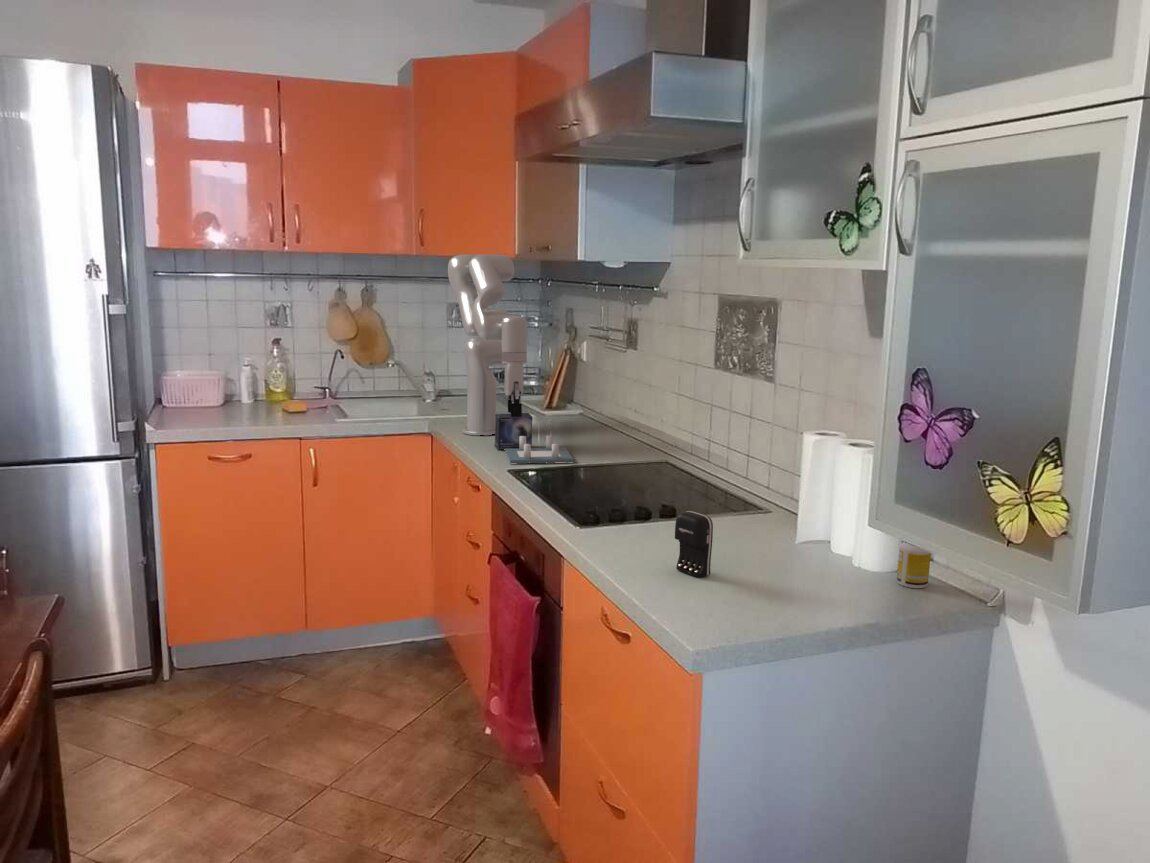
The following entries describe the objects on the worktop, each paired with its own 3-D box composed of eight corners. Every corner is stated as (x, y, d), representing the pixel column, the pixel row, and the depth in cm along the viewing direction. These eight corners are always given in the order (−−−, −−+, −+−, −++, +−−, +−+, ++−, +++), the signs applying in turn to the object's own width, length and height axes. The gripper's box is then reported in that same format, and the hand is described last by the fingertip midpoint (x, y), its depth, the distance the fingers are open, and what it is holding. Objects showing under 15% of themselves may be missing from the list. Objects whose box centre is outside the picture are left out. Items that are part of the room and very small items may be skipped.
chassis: (505, 452, 271) (505, 435, 270) (564, 451, 274) (565, 434, 273) (510, 464, 255) (510, 446, 254) (573, 463, 258) (573, 445, 257)
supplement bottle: (934, 586, 165) (939, 534, 163) (914, 591, 162) (919, 538, 161) (910, 577, 170) (914, 526, 168) (889, 581, 167) (894, 530, 165)
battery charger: (670, 570, 171) (672, 511, 169) (684, 566, 173) (686, 508, 171) (697, 580, 166) (700, 520, 163) (711, 576, 168) (714, 516, 166)
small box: (498, 451, 273) (498, 416, 271) (494, 446, 279) (494, 413, 277) (532, 450, 275) (533, 416, 274) (527, 445, 282) (528, 412, 280)
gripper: (499, 355, 280) (499, 410, 282) (504, 360, 263) (504, 418, 265) (523, 355, 281) (523, 410, 283) (530, 360, 264) (530, 418, 267)
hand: (514, 414), depth 274 cm, fingers open, 9 cm apart
